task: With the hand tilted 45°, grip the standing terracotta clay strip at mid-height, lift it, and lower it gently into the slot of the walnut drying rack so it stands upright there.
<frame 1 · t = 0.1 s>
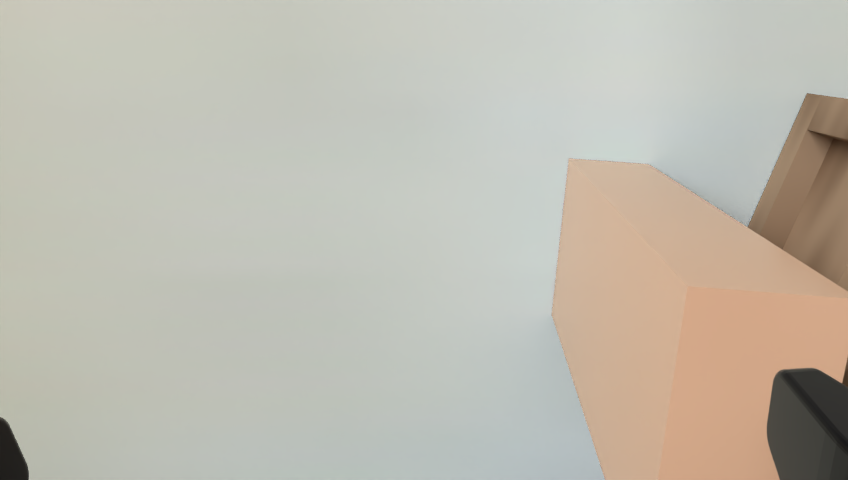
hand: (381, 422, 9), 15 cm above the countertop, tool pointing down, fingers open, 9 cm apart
drying rack: (830, 348, 25), on the countertop
clay strip: (598, 241, 24), on the countertop
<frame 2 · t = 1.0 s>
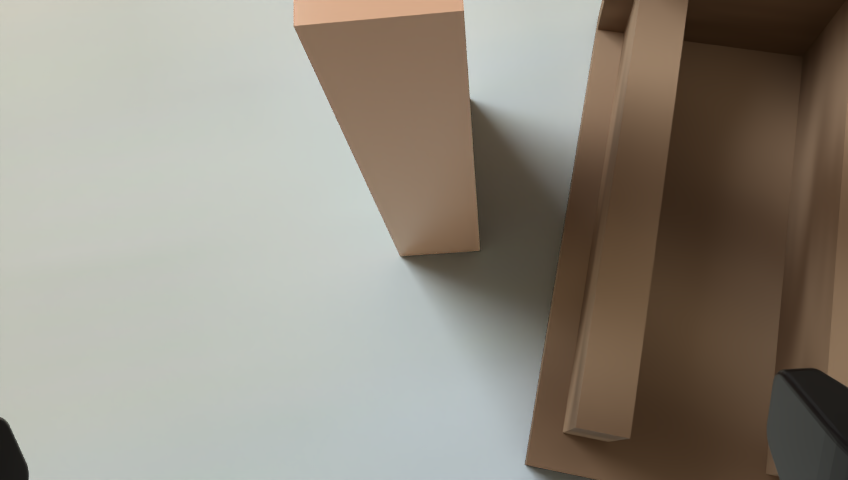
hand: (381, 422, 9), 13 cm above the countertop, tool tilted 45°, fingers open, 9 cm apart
drying rack: (701, 247, 23), on the countertop
clay strip: (435, 175, 24), on the countertop
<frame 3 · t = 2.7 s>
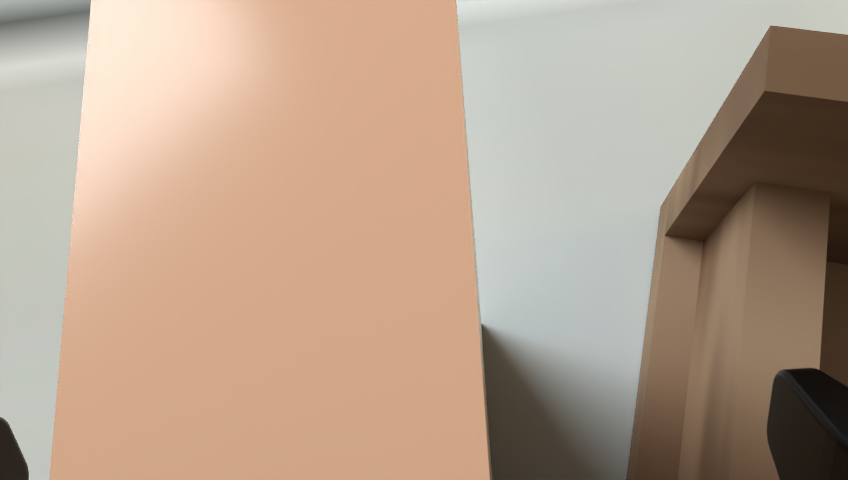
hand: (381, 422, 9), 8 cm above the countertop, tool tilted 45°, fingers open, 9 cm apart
clay strip: (433, 441, 17), on the countertop
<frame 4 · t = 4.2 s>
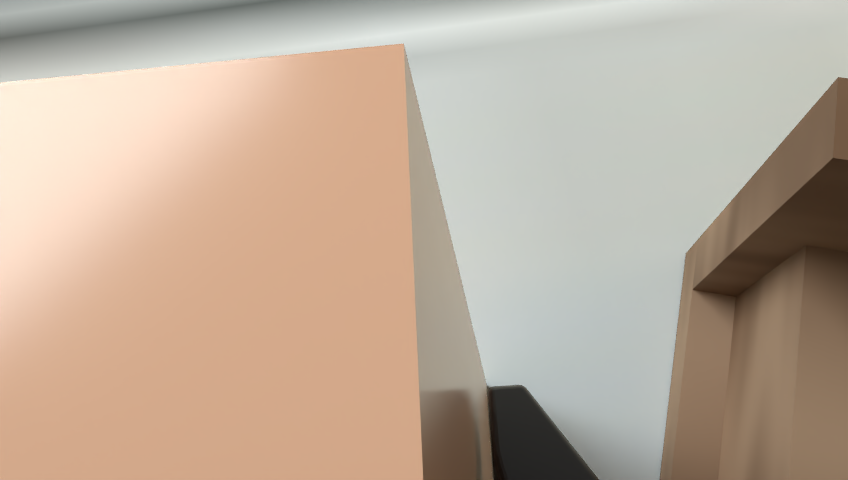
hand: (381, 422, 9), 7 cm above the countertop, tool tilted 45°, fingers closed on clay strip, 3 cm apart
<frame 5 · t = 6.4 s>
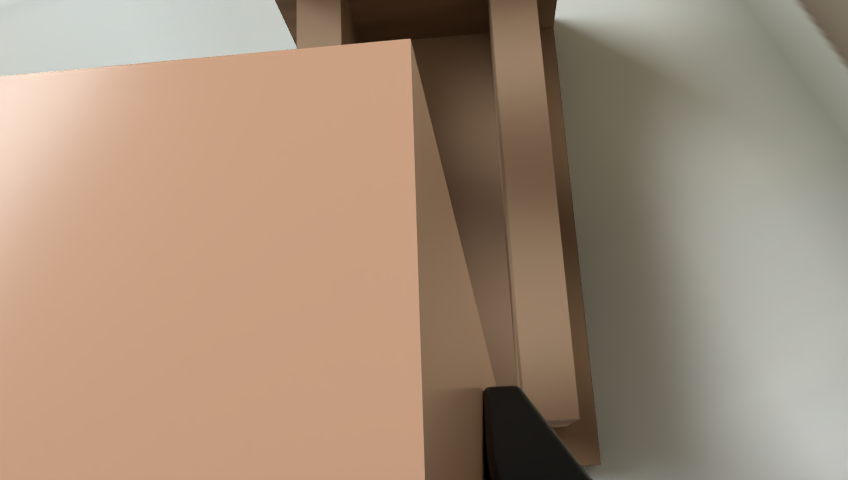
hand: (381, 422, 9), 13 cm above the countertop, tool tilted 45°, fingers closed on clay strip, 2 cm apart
drying rack: (436, 231, 24), on the countertop
when the fingers open (9 cm above the countertop, at t = 8.6 s): clay strip drops 1 cm, resting on drying rack.
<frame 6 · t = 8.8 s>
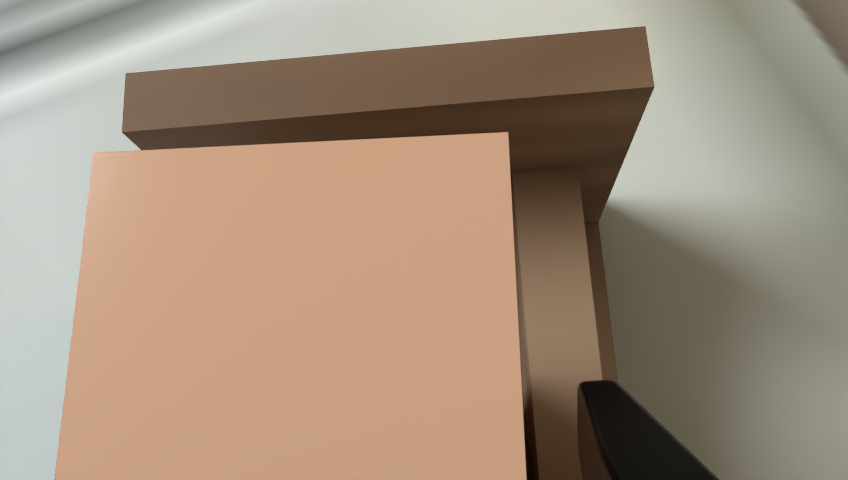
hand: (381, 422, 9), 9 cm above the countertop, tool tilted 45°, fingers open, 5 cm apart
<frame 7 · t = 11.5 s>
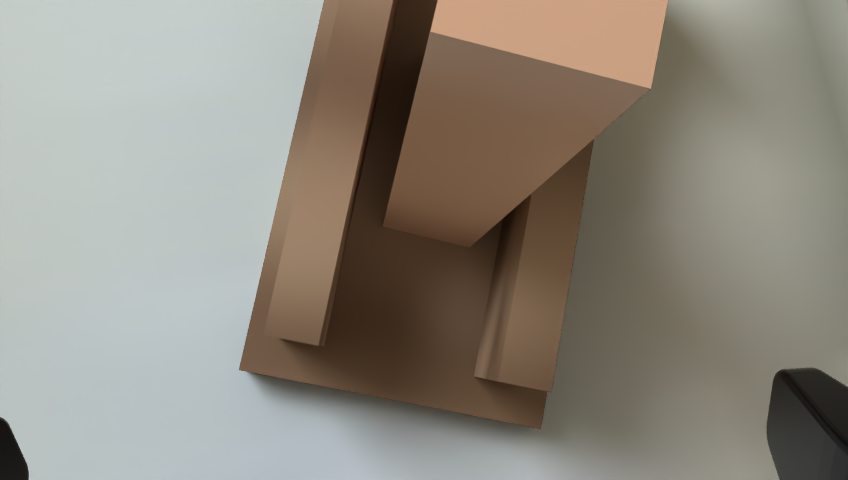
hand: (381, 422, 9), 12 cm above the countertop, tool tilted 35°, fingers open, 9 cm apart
drying rack: (438, 152, 22), on the countertop
clay strip: (446, 149, 21), point 1 cm above the countertop, touching drying rack
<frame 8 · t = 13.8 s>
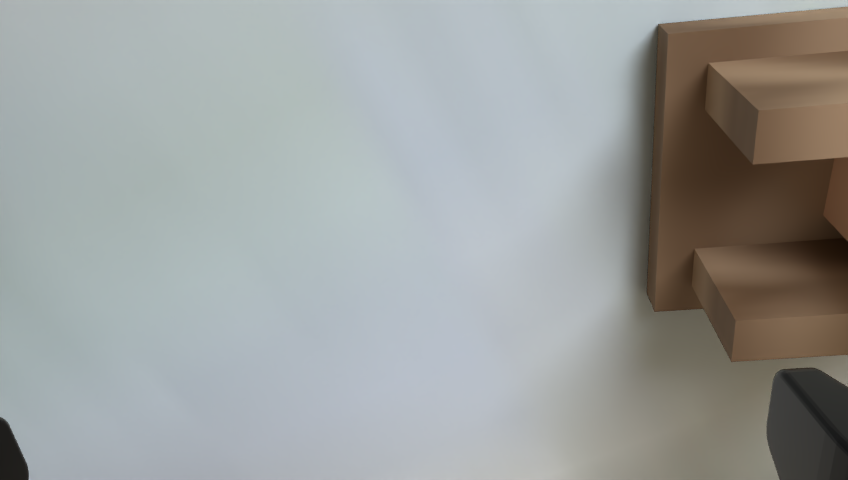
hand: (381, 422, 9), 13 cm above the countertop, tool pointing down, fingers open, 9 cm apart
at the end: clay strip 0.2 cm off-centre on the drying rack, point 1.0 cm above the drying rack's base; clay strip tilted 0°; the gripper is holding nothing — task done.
